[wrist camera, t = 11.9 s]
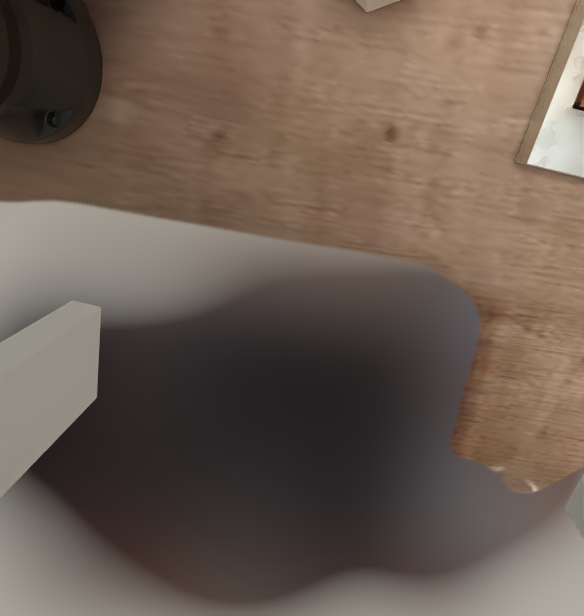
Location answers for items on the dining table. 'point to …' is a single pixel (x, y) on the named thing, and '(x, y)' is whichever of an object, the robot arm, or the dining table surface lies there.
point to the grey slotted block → (560, 109)
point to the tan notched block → (580, 97)
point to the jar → (374, 4)
